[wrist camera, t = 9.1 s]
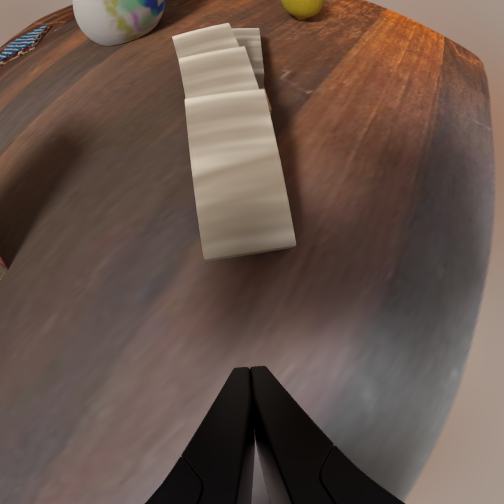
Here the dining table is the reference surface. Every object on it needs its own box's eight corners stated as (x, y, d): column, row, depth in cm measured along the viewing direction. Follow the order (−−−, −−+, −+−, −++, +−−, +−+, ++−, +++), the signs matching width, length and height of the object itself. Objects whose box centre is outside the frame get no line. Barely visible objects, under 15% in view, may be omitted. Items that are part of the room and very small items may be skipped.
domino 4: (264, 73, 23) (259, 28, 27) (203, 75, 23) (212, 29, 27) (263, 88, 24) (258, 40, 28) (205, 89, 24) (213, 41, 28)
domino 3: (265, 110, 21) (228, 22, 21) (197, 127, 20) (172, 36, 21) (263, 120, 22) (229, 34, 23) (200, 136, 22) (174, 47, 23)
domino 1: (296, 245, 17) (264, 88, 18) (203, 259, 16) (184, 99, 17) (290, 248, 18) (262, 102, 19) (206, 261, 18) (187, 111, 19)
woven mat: (-7, 73, 33) (-11, 66, 31) (12, 48, 38) (9, 41, 36) (34, 51, 34) (31, 43, 32) (52, 28, 38) (49, 21, 37)
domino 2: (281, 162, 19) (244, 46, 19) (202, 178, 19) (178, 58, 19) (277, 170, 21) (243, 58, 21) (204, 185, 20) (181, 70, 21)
